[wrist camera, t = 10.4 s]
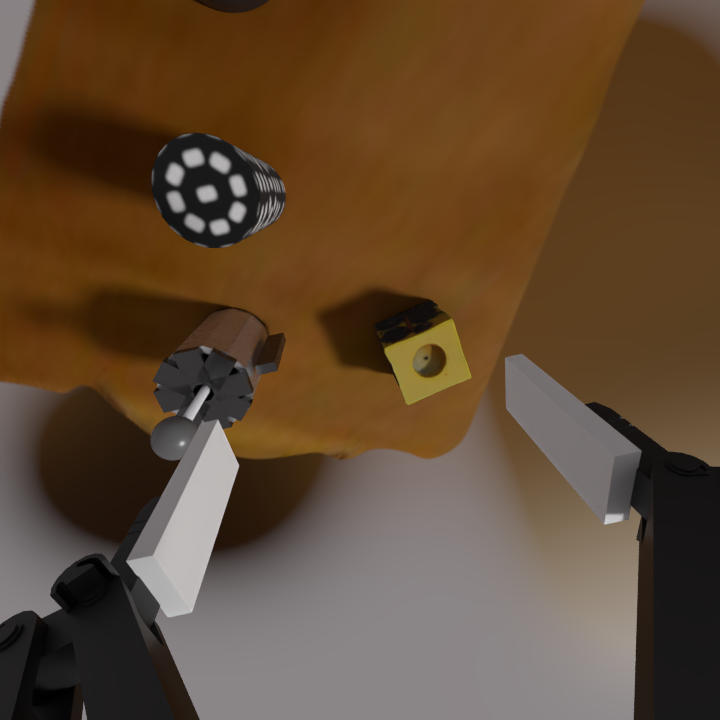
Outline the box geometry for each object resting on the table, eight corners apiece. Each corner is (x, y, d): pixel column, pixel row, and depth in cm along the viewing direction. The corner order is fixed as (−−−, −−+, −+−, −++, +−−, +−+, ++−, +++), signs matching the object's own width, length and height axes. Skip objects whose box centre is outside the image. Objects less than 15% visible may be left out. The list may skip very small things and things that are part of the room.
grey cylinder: (189, 315, 52) (137, 362, 38) (276, 297, 52) (258, 336, 38) (215, 376, 57) (177, 438, 42) (295, 359, 57) (285, 415, 42)
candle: (394, 375, 60) (406, 408, 51) (371, 324, 56) (380, 349, 47) (451, 352, 59) (473, 380, 50) (432, 297, 55) (453, 318, 46)
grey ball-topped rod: (198, 326, 51) (102, 426, 29) (249, 315, 51) (192, 406, 29) (217, 372, 55) (144, 492, 33) (265, 361, 55) (225, 475, 33)
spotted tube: (234, 234, 48) (180, 258, 30) (209, 167, 45) (131, 148, 27) (293, 219, 48) (274, 234, 30) (273, 150, 45) (237, 120, 27)
